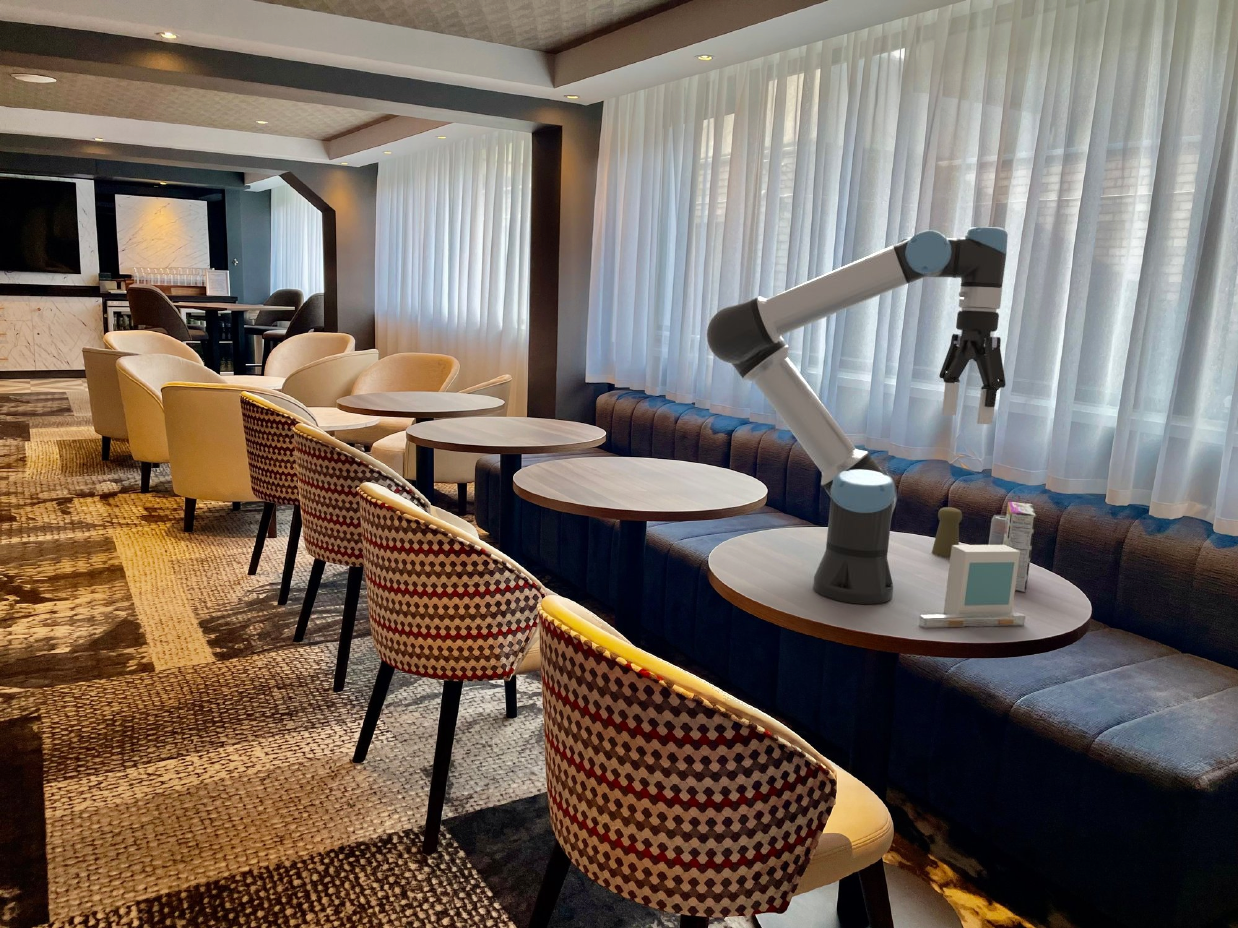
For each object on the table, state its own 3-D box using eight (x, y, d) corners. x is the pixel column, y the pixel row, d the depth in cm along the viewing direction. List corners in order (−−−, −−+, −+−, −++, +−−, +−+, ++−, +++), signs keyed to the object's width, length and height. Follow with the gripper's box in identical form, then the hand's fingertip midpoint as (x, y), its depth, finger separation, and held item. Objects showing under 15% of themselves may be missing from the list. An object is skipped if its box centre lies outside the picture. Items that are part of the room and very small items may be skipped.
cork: (929, 549, 213) (934, 504, 211) (955, 552, 212) (961, 506, 210) (934, 556, 207) (940, 509, 205) (961, 558, 206) (967, 512, 204)
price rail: (924, 628, 159) (925, 618, 158) (919, 624, 161) (920, 614, 160) (1025, 626, 163) (1026, 616, 162) (1018, 622, 165) (1020, 613, 164)
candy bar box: (997, 574, 195) (1007, 500, 192) (1022, 578, 193) (1033, 503, 190) (999, 589, 185) (1010, 511, 182) (1026, 593, 183) (1037, 514, 180)
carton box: (943, 612, 168) (951, 545, 166) (995, 611, 171) (1004, 544, 168) (957, 621, 164) (966, 552, 161) (1011, 619, 166) (1020, 551, 164)
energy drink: (1007, 568, 201) (1014, 515, 198) (1015, 575, 195) (1022, 521, 193) (982, 566, 201) (989, 513, 199) (989, 573, 196) (996, 519, 194)
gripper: (929, 308, 186) (918, 411, 190) (996, 310, 162) (982, 427, 165) (963, 310, 187) (951, 412, 191) (1034, 312, 163) (1020, 428, 166)
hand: (966, 419), depth 178 cm, fingers open, 13 cm apart
